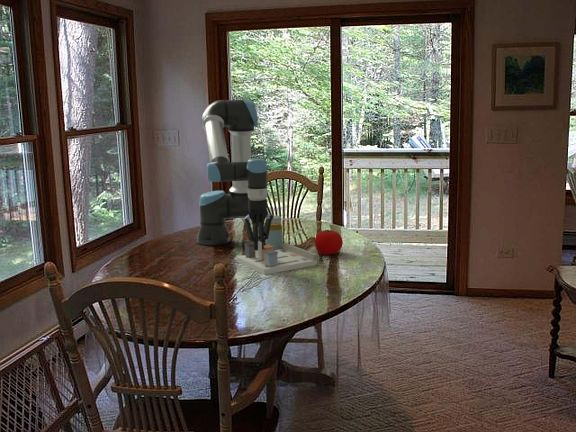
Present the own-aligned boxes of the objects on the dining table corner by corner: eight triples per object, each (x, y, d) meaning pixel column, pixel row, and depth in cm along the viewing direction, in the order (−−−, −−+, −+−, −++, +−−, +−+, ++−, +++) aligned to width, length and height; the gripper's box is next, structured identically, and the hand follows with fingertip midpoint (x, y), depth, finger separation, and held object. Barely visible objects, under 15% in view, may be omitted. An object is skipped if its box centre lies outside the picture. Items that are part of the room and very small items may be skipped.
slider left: (244, 255, 244) (244, 243, 243) (252, 254, 246) (252, 241, 245) (249, 257, 241) (248, 245, 240) (257, 256, 243) (257, 243, 242)
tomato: (324, 249, 262) (324, 225, 260) (347, 252, 256) (347, 229, 254) (309, 255, 253) (309, 230, 251) (332, 259, 246) (333, 234, 244)
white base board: (236, 261, 244) (235, 250, 243) (286, 252, 257) (286, 242, 256) (264, 274, 225) (264, 263, 224) (316, 265, 238) (316, 254, 237)
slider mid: (260, 258, 239) (260, 246, 238) (269, 257, 241) (268, 244, 240) (265, 260, 236) (265, 247, 235) (274, 259, 238) (273, 246, 237)
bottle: (280, 252, 257) (280, 218, 254) (264, 252, 258) (264, 218, 255) (283, 248, 264) (283, 215, 261) (268, 248, 265) (267, 215, 262)
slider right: (264, 264, 231) (264, 251, 230) (272, 262, 233) (272, 249, 232) (269, 266, 228) (269, 253, 226) (277, 265, 229) (277, 251, 228)
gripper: (247, 201, 225) (248, 262, 230) (277, 198, 232) (277, 257, 236) (238, 199, 231) (239, 258, 236) (267, 196, 238) (268, 253, 243)
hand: (258, 257), depth 236 cm, fingers closed
